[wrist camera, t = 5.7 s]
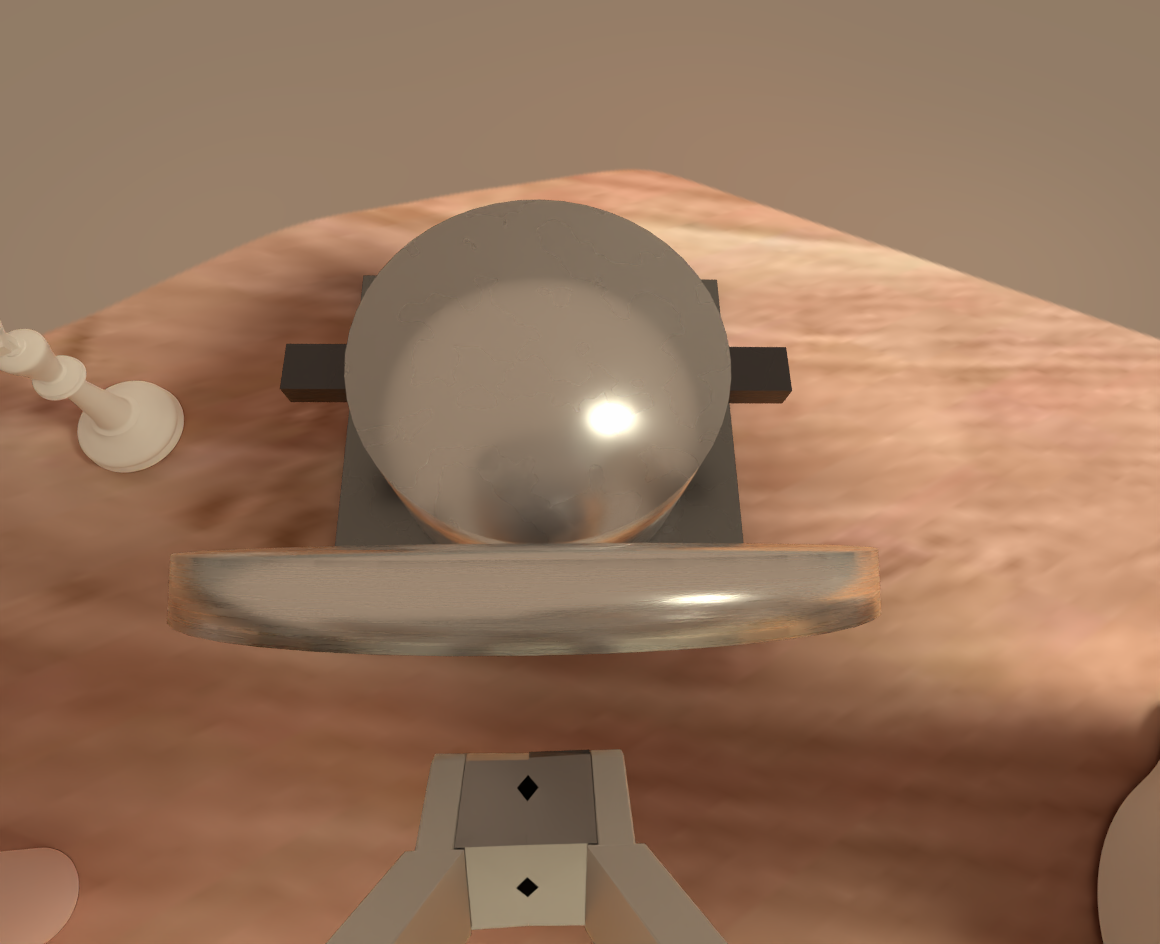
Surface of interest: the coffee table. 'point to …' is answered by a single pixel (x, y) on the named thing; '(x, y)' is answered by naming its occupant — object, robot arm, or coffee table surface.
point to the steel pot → (537, 387)
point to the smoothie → (35, 894)
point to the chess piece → (99, 404)
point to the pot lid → (521, 596)
